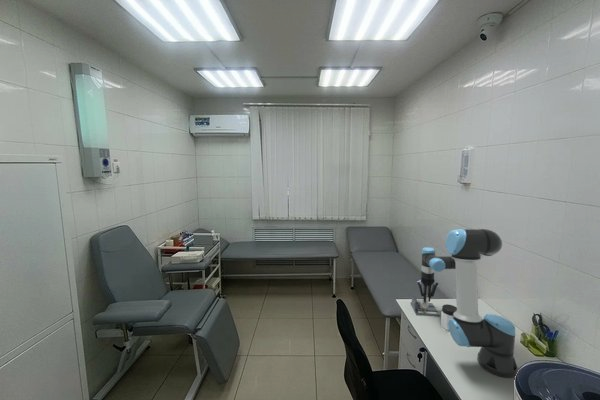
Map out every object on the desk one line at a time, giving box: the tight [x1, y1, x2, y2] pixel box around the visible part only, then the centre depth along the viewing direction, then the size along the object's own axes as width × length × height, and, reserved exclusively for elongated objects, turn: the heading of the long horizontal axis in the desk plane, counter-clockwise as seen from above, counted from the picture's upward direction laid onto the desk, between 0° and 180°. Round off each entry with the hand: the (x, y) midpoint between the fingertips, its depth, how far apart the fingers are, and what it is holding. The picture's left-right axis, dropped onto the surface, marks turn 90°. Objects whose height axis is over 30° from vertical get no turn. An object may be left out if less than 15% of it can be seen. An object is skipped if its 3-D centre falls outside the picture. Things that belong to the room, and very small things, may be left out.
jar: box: [440, 304, 457, 332], centre depth 155 cm, size 9×8×12 cm
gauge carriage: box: [417, 298, 427, 312], centre depth 172 cm, size 8×4×4 cm, turn 171°
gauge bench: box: [410, 295, 441, 317], centre depth 174 cm, size 14×14×7 cm
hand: (426, 305), depth 174 cm, fingers closed
